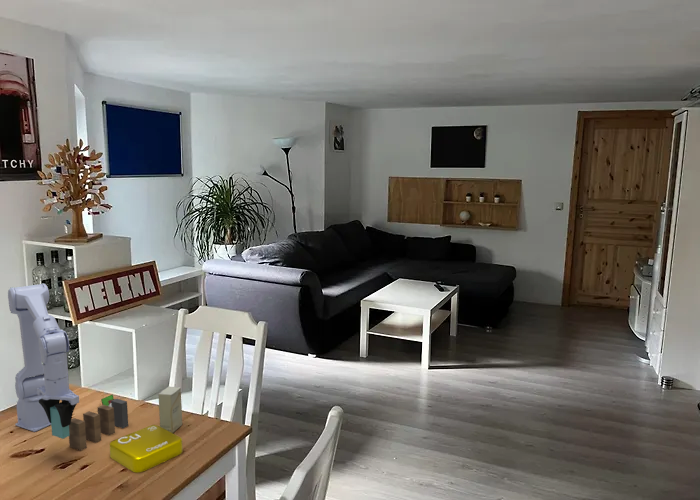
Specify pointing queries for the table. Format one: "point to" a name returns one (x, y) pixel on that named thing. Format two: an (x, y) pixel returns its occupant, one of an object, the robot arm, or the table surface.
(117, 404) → the black end domino
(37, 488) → the table surface
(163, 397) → the skincare box
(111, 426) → the walnut domino
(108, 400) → the geometric puzzle
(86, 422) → the walnut domino
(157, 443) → the element tile
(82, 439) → the walnut domino
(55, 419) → the teal domino
